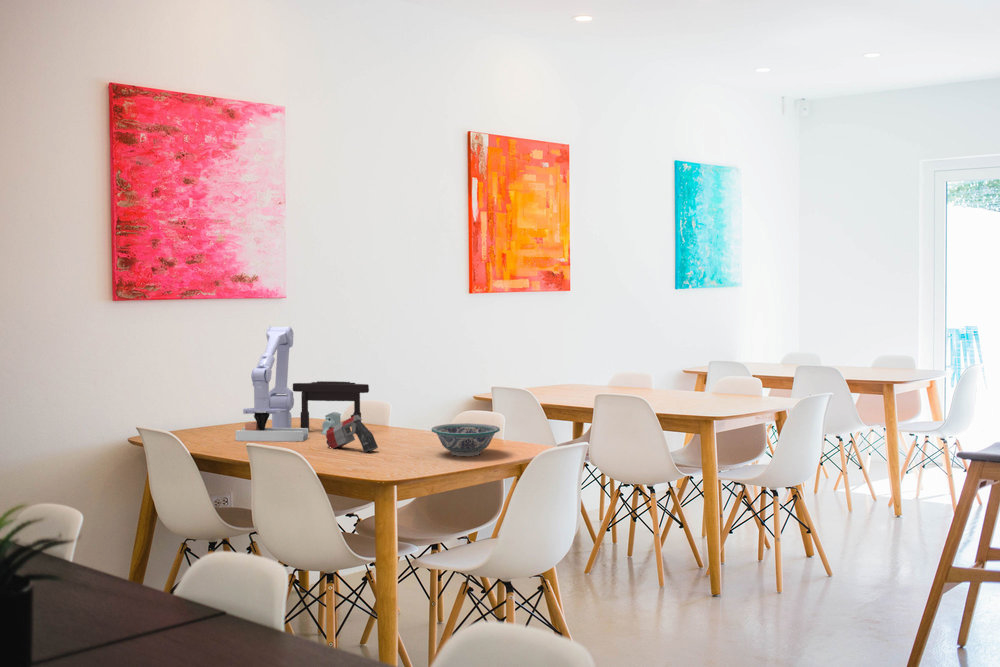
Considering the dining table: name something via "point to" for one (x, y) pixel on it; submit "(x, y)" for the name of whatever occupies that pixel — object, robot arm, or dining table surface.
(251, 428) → the block
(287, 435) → the trap channel
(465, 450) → the bowl
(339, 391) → the black side table
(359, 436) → the toy gun
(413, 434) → the dining table surface
